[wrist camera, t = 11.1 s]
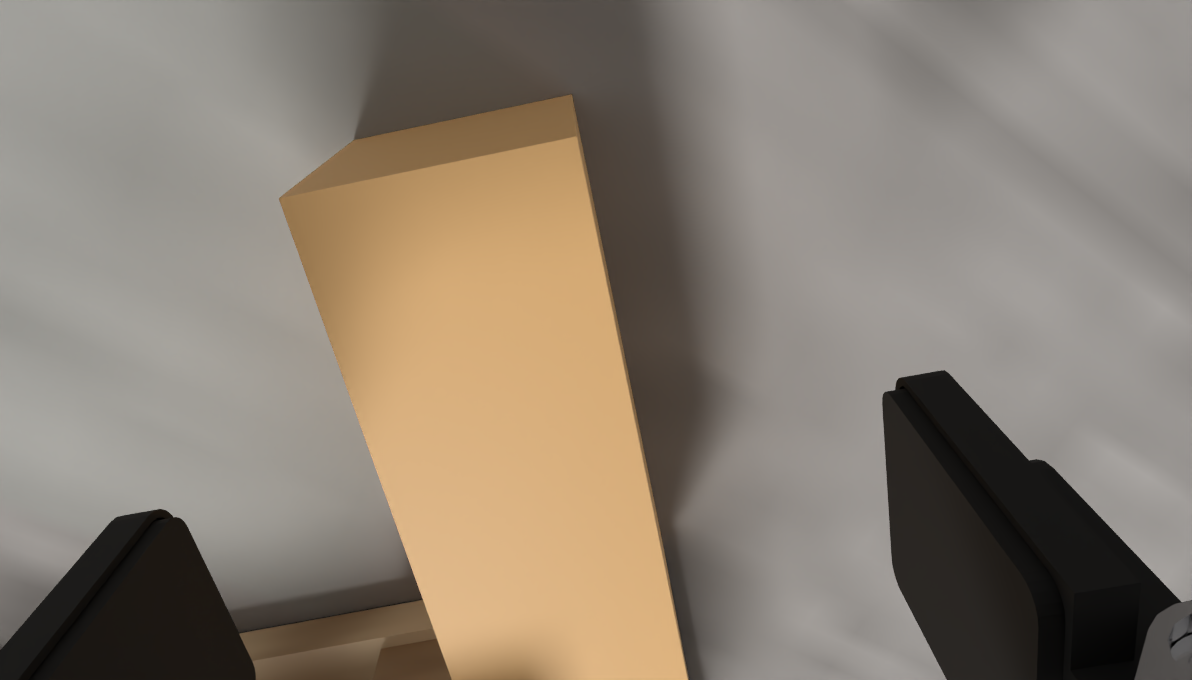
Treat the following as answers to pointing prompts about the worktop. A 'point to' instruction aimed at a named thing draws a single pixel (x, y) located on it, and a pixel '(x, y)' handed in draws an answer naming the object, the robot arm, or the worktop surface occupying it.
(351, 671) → the cradle
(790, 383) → the worktop surface
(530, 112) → the light orange rectangular block
